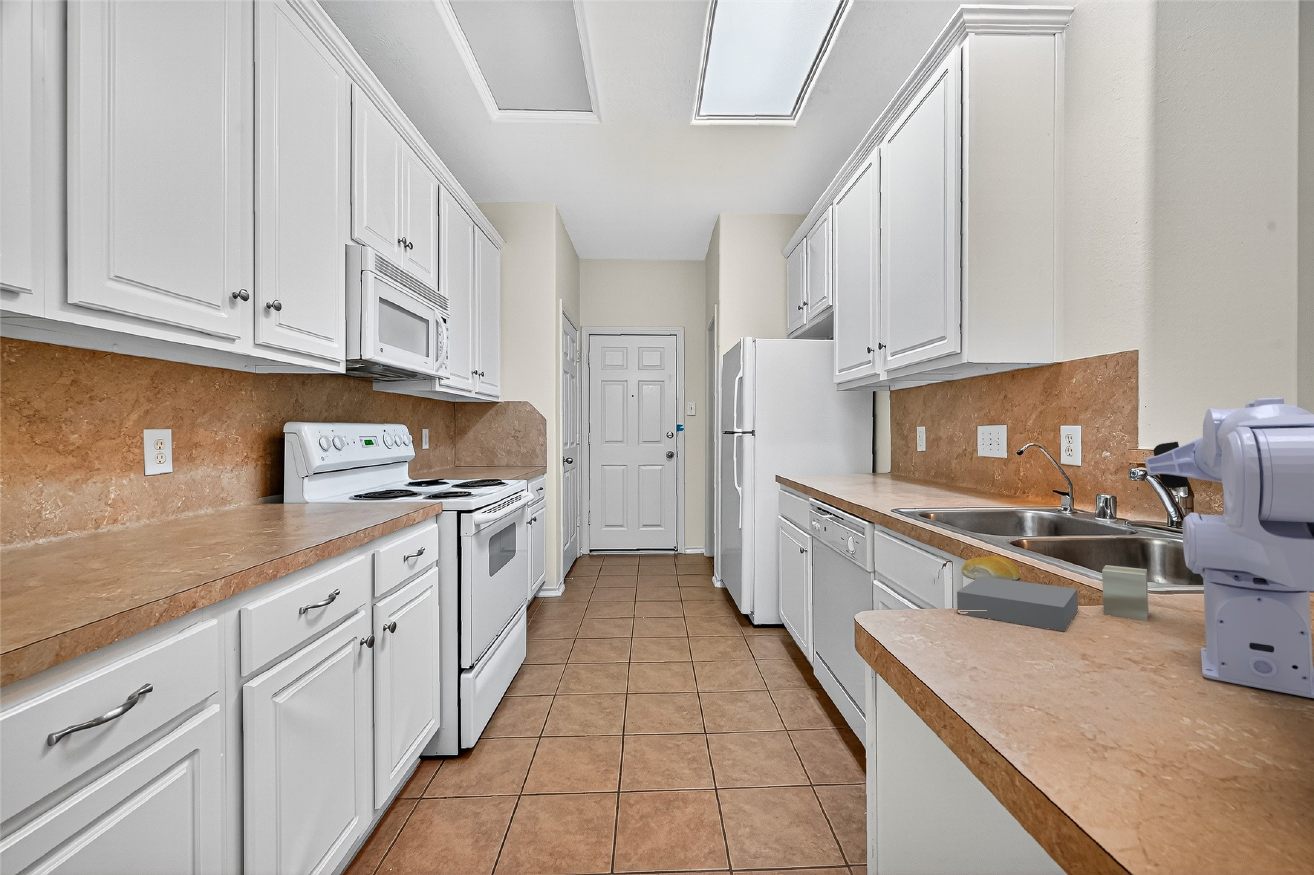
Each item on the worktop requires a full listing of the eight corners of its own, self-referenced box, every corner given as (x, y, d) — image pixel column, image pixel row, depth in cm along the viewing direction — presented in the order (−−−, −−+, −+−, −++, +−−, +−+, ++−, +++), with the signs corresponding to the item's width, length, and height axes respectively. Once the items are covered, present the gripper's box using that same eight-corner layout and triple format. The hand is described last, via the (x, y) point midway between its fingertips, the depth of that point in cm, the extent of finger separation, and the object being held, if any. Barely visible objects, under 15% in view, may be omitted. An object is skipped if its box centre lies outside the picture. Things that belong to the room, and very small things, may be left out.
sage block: (1147, 621, 72) (1145, 574, 72) (1103, 615, 75) (1102, 570, 75) (1148, 613, 75) (1146, 569, 76) (1107, 608, 78) (1105, 565, 79)
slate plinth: (1064, 631, 69) (1063, 607, 69) (957, 613, 77) (956, 591, 77) (1078, 610, 77) (1077, 588, 77) (980, 596, 86) (980, 576, 86)
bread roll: (1027, 578, 97) (1026, 555, 97) (1003, 586, 92) (1002, 562, 92) (978, 570, 104) (977, 549, 104) (953, 577, 99) (952, 554, 99)
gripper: (1322, 401, 58) (1289, 425, 68) (1140, 428, 66) (1135, 445, 77) (1345, 468, 56) (1307, 482, 67) (1155, 486, 65) (1148, 496, 75)
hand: (1216, 466), depth 72 cm, fingers open, 7 cm apart
